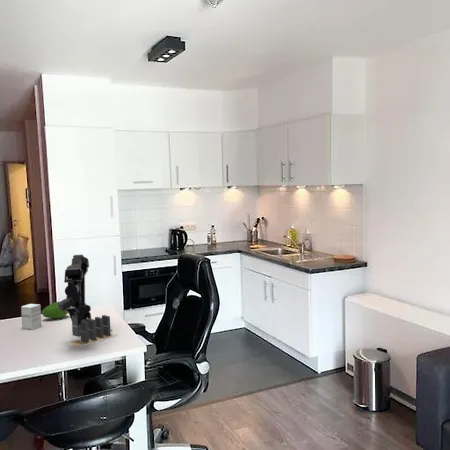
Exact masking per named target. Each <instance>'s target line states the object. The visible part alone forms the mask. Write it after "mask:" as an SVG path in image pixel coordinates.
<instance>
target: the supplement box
mask: <svg viewBox="0 0 450 450" xmlns="http://www.w3.org/2000/svg"><path fill="white" fill-rule="evenodd" d="M20 307H21V312H20V313H21V328H22V329H24V330H35V329H38V328H40V327H42V311H41V307H42V306H41V304H39V303H38V304H37V303H28V304H25V305H22V306H20Z"/></svg>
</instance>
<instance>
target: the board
mask: <svg viewBox="0 0 450 450" xmlns="http://www.w3.org/2000/svg"><path fill="white" fill-rule="evenodd" d="M115 336H117V335H116V334H113V333H111V336H106V335H104V338H99V337H96V340H91V339H89V342H87V343H86V342H83V341H81V338H80V339H76V340H73V341H69V342H68V344H70V345H72V346H74V347H77V348H79V347H81V346H85V345H88V344H91V343H96V342H99V341H102V340H105V339H109V338H112V337H115Z"/></svg>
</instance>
